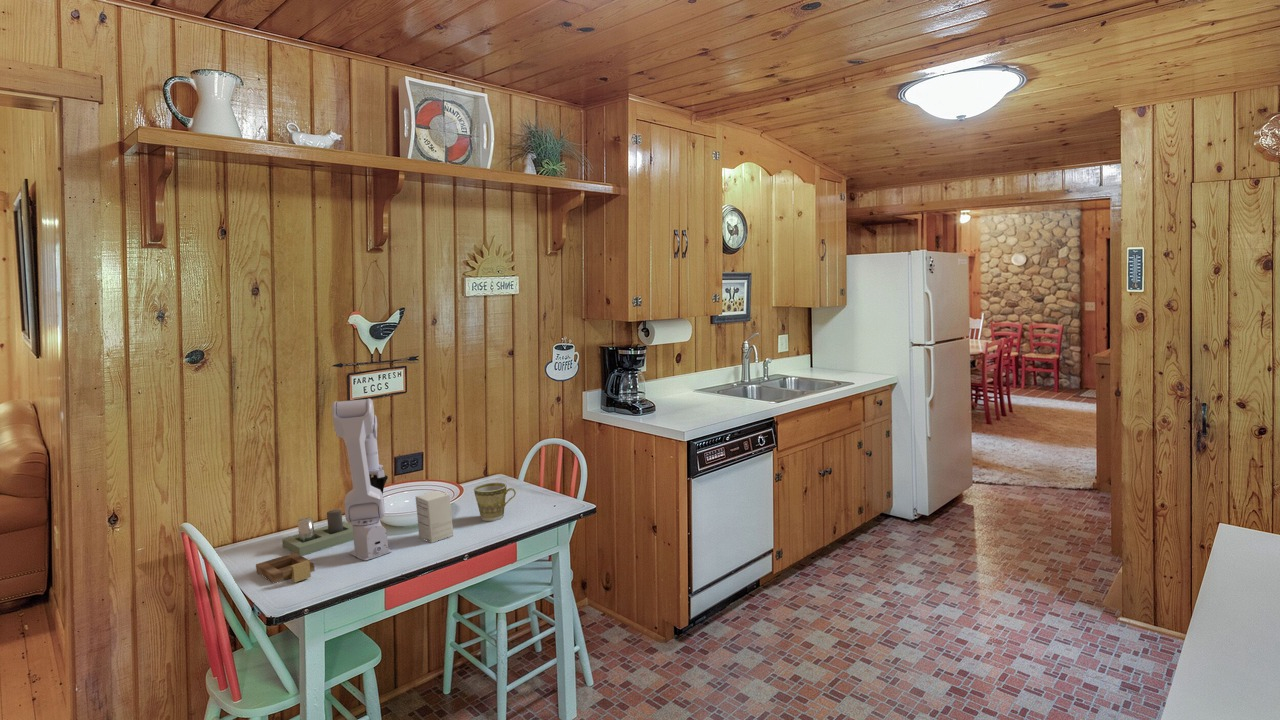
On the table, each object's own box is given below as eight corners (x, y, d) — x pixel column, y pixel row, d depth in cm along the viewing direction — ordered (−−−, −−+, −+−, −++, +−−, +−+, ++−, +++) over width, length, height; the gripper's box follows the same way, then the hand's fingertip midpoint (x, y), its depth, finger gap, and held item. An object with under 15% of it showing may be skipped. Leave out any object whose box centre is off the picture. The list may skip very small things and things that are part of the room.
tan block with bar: (310, 577, 179) (309, 561, 179) (294, 582, 176) (293, 567, 176) (297, 569, 185) (295, 554, 184) (281, 574, 182) (279, 559, 181)
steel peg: (314, 548, 201) (311, 521, 200) (298, 550, 200) (296, 522, 200) (317, 543, 205) (314, 516, 204) (302, 545, 204) (299, 518, 203)
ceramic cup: (471, 523, 216) (469, 491, 215) (482, 512, 226) (480, 482, 225) (512, 523, 214) (510, 491, 213) (521, 512, 224) (519, 481, 223)
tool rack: (362, 537, 209) (359, 510, 208) (300, 556, 195) (297, 528, 195) (343, 529, 217) (341, 503, 216) (282, 547, 203) (280, 520, 203)
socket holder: (314, 570, 185) (313, 562, 184) (274, 583, 177) (273, 575, 177) (295, 560, 193) (294, 552, 192) (256, 572, 185) (255, 564, 185)
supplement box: (441, 530, 211) (437, 489, 209) (454, 536, 205) (450, 494, 204) (418, 538, 205) (414, 495, 204) (430, 543, 200) (427, 500, 199)
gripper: (392, 453, 209) (396, 498, 211) (368, 447, 219) (372, 490, 220) (369, 458, 204) (374, 504, 205) (346, 452, 214) (351, 496, 215)
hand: (371, 497), depth 213 cm, fingers open, 7 cm apart
